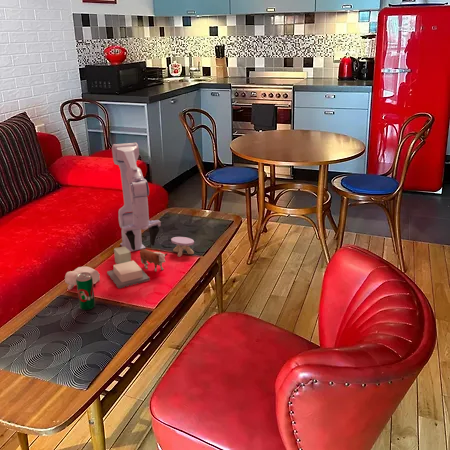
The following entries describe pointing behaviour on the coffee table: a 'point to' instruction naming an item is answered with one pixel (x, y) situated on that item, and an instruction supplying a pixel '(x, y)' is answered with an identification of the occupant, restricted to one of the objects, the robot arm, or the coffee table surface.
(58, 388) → the coffee table surface
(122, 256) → the sage brick
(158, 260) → the bull figurine
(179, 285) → the coffee table surface
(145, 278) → the tower base
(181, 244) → the toy table
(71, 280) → the white lumpy shape
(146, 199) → the robot arm
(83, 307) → the soda can
